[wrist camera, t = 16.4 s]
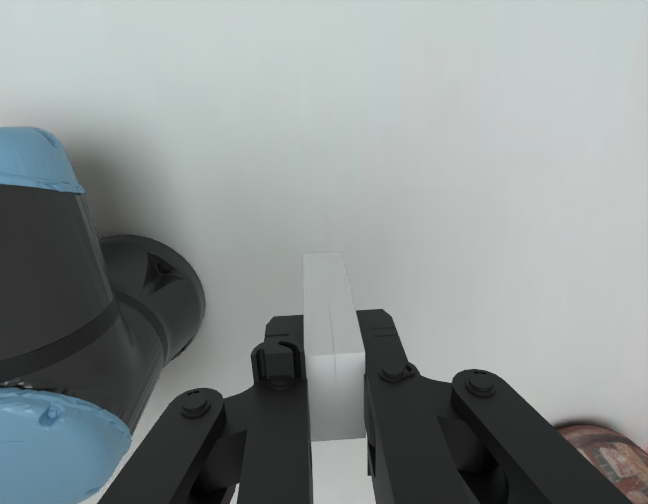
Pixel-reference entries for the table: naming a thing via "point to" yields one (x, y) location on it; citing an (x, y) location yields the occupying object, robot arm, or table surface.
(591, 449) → the pottery
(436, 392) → the robot arm
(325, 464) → the table surface
